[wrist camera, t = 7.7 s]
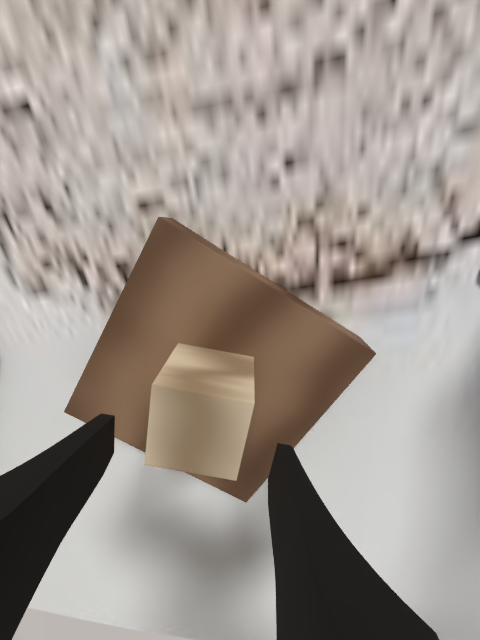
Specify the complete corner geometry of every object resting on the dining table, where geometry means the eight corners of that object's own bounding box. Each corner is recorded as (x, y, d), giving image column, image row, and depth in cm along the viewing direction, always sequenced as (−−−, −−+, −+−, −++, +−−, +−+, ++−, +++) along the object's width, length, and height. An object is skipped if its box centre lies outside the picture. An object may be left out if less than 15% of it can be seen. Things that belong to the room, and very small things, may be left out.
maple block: (254, 357, 16) (254, 403, 12) (240, 419, 18) (236, 480, 13) (178, 343, 16) (151, 384, 12) (170, 407, 18) (144, 464, 13)
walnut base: (360, 337, 18) (376, 353, 16) (246, 473, 22) (246, 502, 20) (172, 218, 16) (158, 216, 14) (85, 390, 20) (64, 411, 18)
